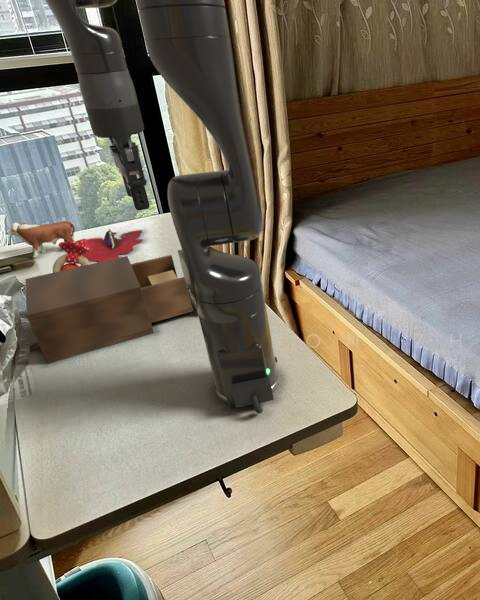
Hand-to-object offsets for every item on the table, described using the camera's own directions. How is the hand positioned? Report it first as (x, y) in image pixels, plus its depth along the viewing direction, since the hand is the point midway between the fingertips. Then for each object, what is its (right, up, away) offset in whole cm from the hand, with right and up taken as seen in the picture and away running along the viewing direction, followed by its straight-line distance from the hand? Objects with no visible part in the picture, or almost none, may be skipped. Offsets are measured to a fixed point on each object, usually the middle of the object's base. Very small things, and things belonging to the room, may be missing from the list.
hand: (138, 202), depth 93 cm
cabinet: (-11, -22, +6) cm, 25 cm away
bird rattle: (-21, -14, +20) cm, 32 cm away
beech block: (0, -17, +11) cm, 20 cm away
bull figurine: (-38, -6, +36) cm, 52 cm away
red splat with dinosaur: (-25, -5, +37) cm, 45 cm away
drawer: (+1, -17, +12) cm, 21 cm away
